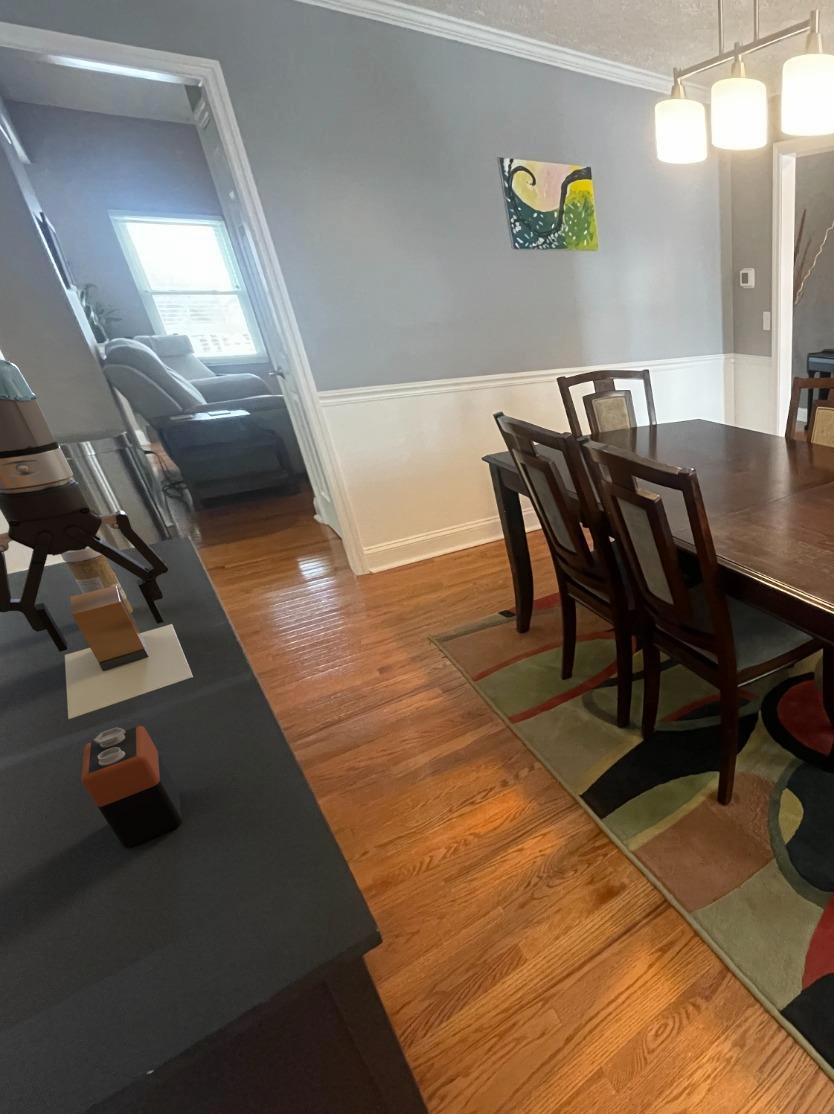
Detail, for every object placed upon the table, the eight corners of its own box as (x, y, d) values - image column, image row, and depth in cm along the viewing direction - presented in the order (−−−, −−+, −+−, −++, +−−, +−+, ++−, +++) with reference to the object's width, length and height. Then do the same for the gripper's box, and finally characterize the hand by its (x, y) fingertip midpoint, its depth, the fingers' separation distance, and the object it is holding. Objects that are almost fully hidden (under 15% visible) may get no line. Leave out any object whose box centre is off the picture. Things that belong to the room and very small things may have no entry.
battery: (180, 789, 64) (139, 715, 60) (183, 826, 60) (140, 748, 56) (124, 812, 62) (78, 736, 57) (124, 852, 57) (73, 772, 53)
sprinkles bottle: (143, 614, 101) (107, 540, 95) (112, 627, 97) (73, 552, 91) (122, 612, 102) (84, 539, 96) (90, 625, 98) (50, 550, 92)
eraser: (99, 648, 89) (70, 595, 85) (142, 635, 92) (116, 584, 89) (102, 671, 84) (71, 615, 80) (148, 657, 87) (121, 602, 83)
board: (67, 660, 88) (64, 654, 88) (174, 629, 96) (171, 623, 96) (71, 725, 74) (68, 719, 74) (196, 682, 82) (193, 676, 82)
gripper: (-110, 513, 68) (-3, 676, 77) (151, 472, 82) (214, 613, 92) (-100, 499, 72) (-1, 655, 82) (146, 463, 87) (206, 598, 96)
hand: (113, 633), depth 87 cm, fingers open, 9 cm apart
